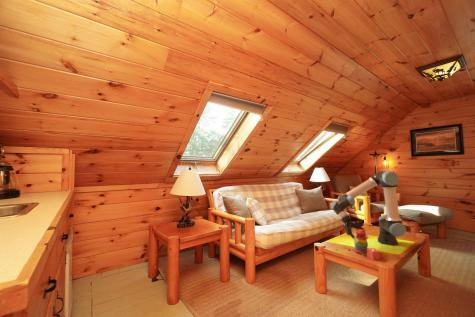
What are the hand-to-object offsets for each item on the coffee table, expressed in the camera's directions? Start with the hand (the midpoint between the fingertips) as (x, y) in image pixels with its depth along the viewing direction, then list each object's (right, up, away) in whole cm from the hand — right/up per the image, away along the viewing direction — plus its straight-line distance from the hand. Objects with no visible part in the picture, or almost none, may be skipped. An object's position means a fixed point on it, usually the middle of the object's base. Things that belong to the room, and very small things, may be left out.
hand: (362, 240), depth 176 cm
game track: (+4, -11, +2) cm, 11 cm away
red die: (+3, -10, -9) cm, 14 cm away
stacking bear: (0, -10, +1) cm, 10 cm away
